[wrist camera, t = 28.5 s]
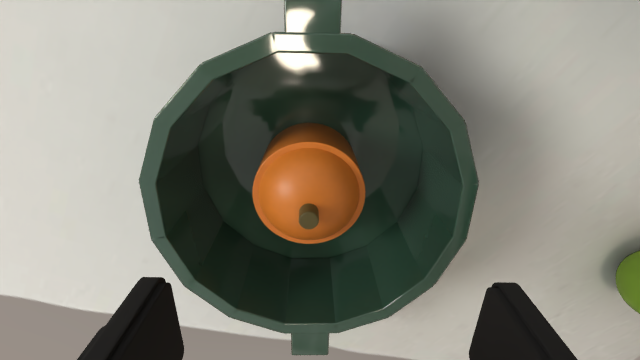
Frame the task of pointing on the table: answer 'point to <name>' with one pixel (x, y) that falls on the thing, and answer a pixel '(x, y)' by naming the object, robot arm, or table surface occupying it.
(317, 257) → the crock
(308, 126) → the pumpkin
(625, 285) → the snail figurine
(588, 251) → the table surface
